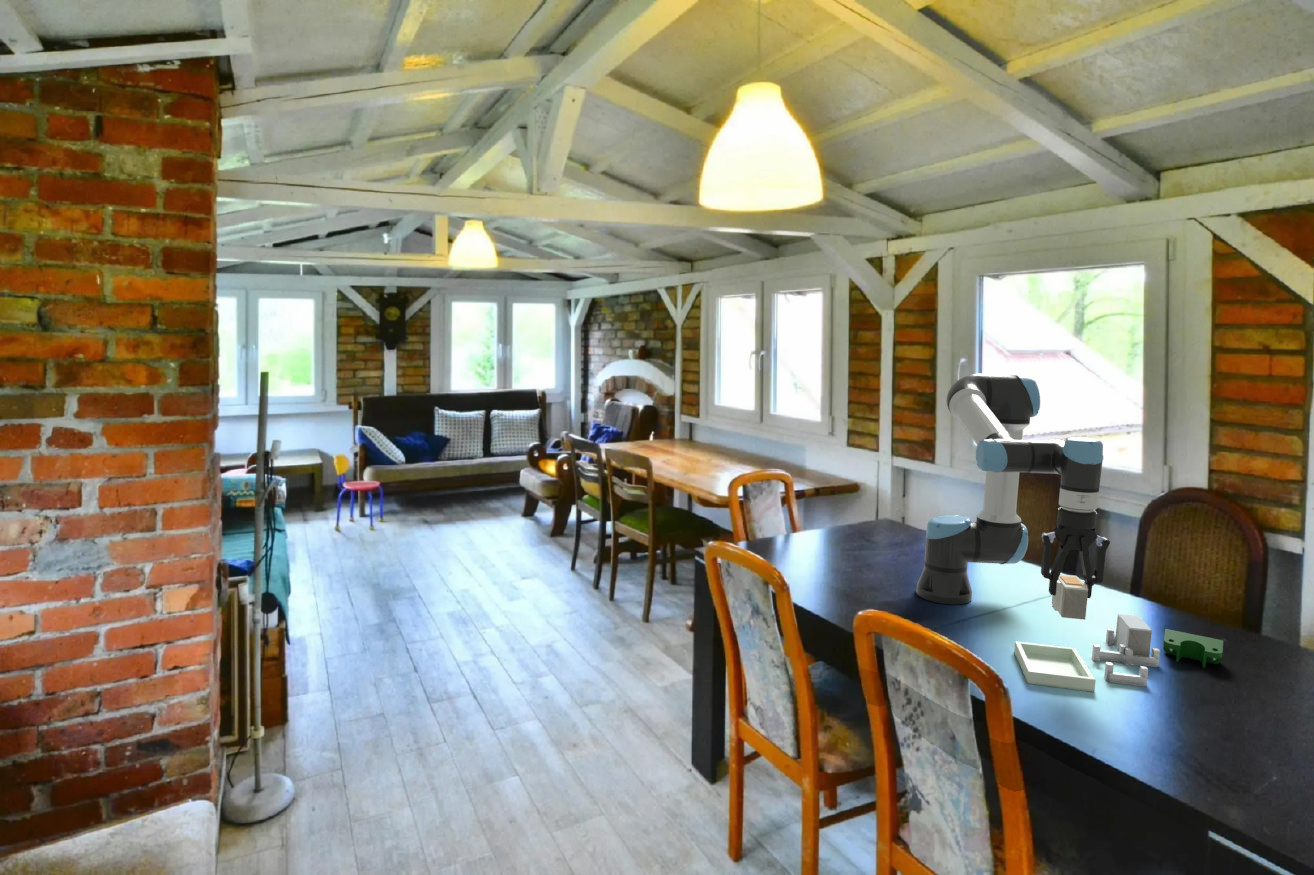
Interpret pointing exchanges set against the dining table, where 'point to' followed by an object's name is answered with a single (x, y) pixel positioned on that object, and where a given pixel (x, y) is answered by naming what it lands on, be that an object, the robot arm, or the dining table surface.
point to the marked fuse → (1072, 597)
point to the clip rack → (1127, 658)
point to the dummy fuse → (1133, 634)
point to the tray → (1054, 666)
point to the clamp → (1193, 647)
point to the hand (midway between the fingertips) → (1068, 609)
